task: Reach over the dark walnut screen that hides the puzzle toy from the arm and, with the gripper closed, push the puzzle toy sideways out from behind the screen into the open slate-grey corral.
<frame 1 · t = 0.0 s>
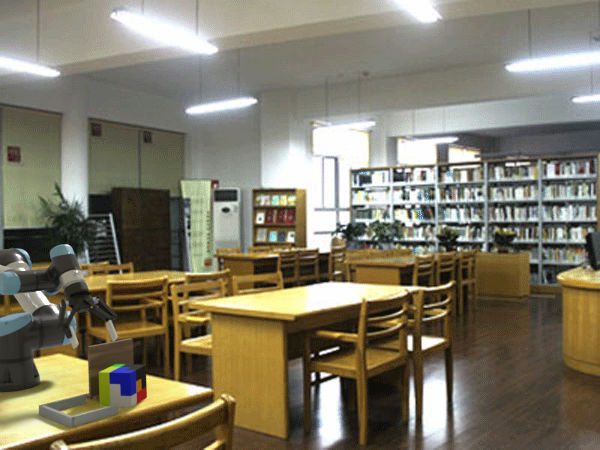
hand: (96, 342, 196), 15 cm above the table, tool tilted 35°, fingers open, 13 cm apart
puzzle toy: (123, 402, 184), on the table
screen: (112, 393, 193), on the table
corral: (78, 413, 173), on the table
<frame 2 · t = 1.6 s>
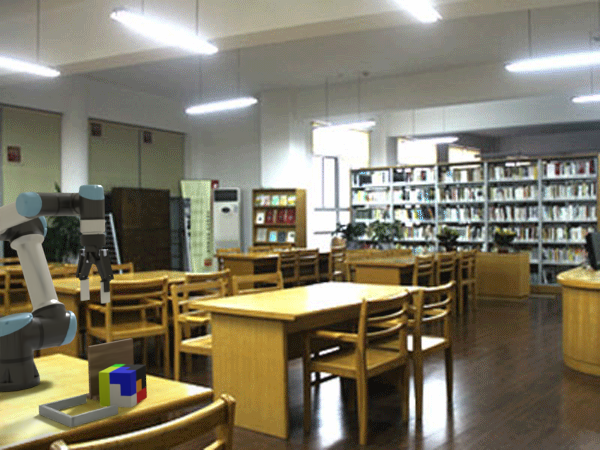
hand: (95, 301, 197), 28 cm above the table, tool pointing down, fingers open, 12 cm apart
nothing on the table moved.
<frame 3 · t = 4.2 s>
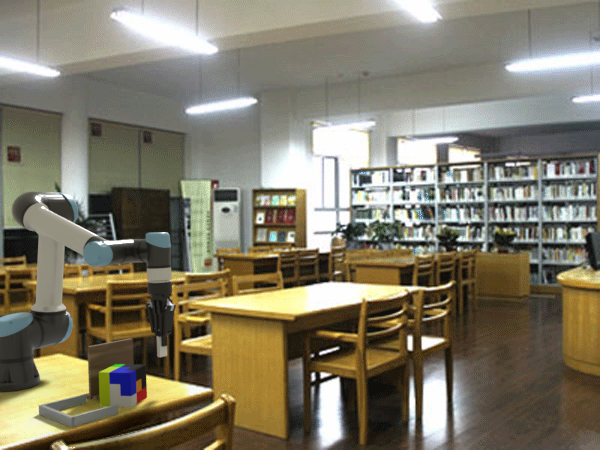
hand: (162, 356, 194), 11 cm above the table, tool pointing down, fingers closed
nothing on the table moved.
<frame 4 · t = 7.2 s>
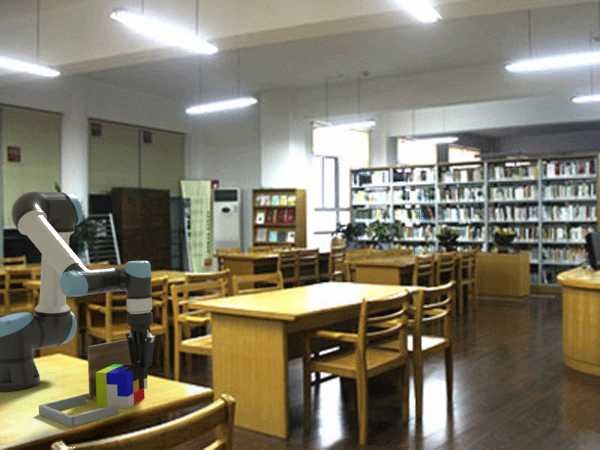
hand: (142, 388, 189), 2 cm above the table, tool pointing down, fingers closed
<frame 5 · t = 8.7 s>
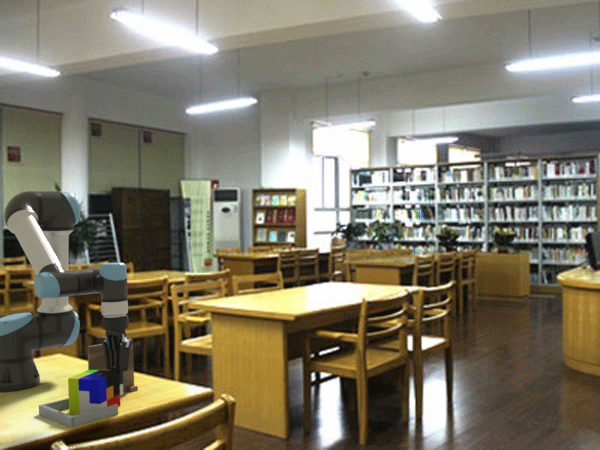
hand: (117, 394, 182), 2 cm above the table, tool pointing down, fingers closed
puzzle toy: (95, 410, 177), on the table, touching gripper, hand
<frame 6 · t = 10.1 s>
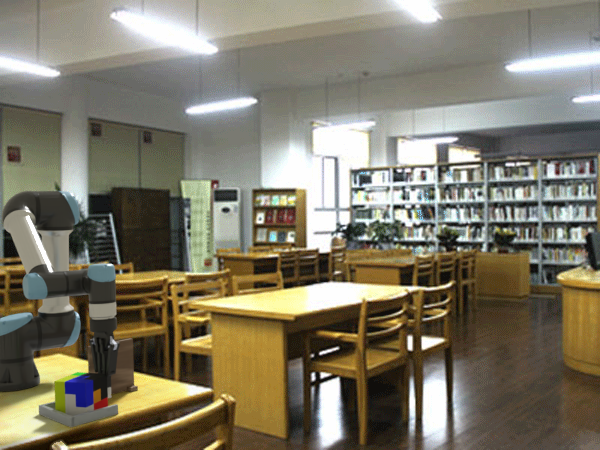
hand: (105, 398, 179), 2 cm above the table, tool pointing down, fingers closed
puzzle toy: (82, 413, 174), on the table, touching gripper, hand
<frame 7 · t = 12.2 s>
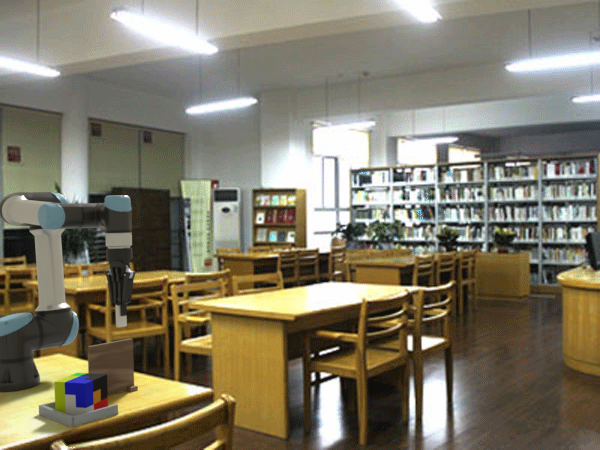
hand: (121, 326, 184), 22 cm above the table, tool pointing down, fingers closed
puzzle toy: (82, 413, 174), on the table
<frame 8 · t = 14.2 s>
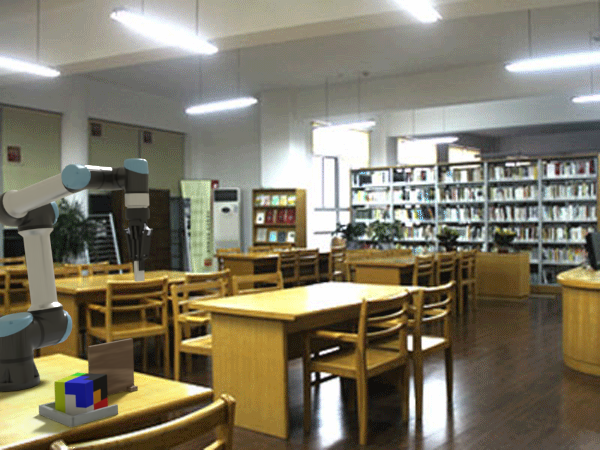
hand: (139, 281, 198), 34 cm above the table, tool pointing down, fingers closed
nothing on the table moved.
at the end: puzzle toy inside the target area on the corral (1.4 cm from its centre), point 0.0 cm above the corral's base; puzzle toy tilted 0° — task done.
